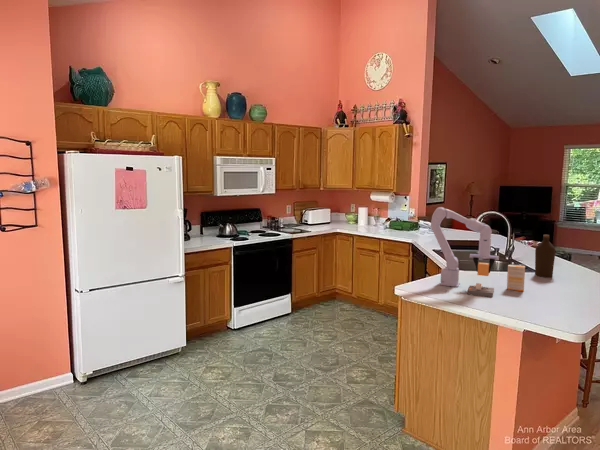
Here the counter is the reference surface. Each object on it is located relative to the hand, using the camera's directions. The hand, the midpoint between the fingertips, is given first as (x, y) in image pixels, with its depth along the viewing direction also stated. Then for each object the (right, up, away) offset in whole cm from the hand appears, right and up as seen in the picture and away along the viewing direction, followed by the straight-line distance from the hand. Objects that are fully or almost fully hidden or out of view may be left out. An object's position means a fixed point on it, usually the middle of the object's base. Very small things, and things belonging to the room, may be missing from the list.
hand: (483, 271), depth 236 cm
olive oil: (+49, -5, +28) cm, 56 cm away
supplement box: (+16, -9, -3) cm, 19 cm away
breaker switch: (-7, -8, -11) cm, 15 cm away
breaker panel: (-6, -10, -10) cm, 15 cm away
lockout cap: (0, -1, 0) cm, 2 cm away
